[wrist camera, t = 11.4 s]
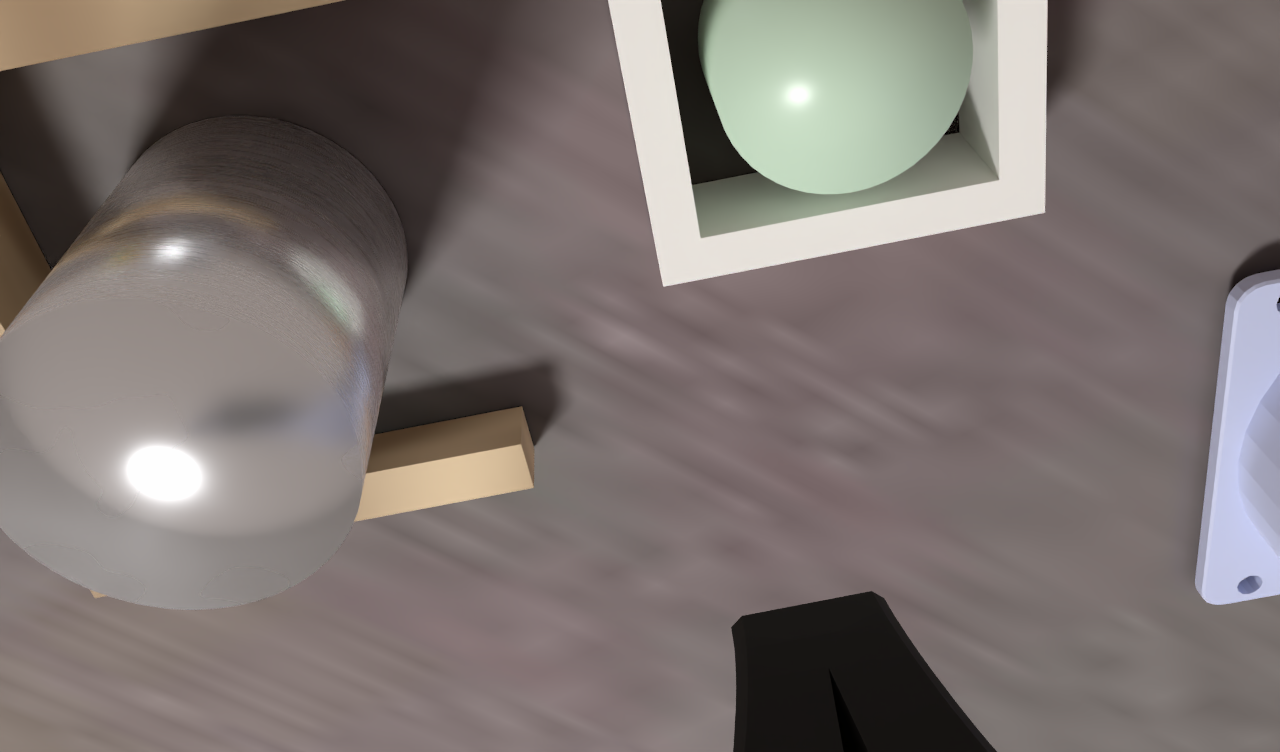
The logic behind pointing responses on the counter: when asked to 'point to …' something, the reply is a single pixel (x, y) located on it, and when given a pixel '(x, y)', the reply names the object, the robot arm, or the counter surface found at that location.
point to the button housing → (832, 223)
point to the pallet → (15, 268)
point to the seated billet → (205, 370)
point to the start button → (835, 84)
